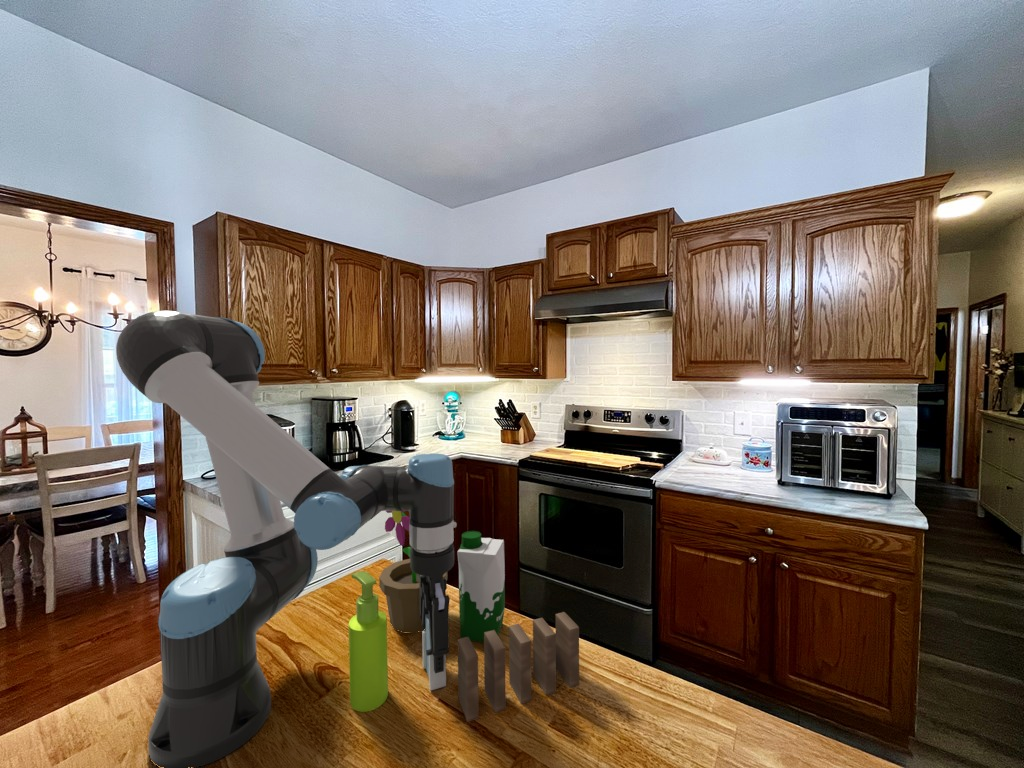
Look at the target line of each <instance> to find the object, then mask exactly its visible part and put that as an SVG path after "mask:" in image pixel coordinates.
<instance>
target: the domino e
mask: <svg viewBox="0 0 1024 768" xmlns="http://www.w3.org/2000/svg"><path fill="white" fill-rule="evenodd" d="M555 633H556V672H558V674H559V675H560V677H561V678H562V679H563V680H564V682H565V683H566V685H567V686H568V687H569V688H573V687H576V686H579V685H580V627H579V625H578V624H577V623H576V622H575V621H574V620H573V619H572V618H571V617H570V616H569V615H568V614H567V612H565V611H561V612H558V613H555Z"/></svg>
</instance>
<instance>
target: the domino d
mask: <svg viewBox="0 0 1024 768" xmlns="http://www.w3.org/2000/svg"><path fill="white" fill-rule="evenodd" d="M556 672H557V670H556V631H554V630H553V629H552V628H551V626H550V625H549V623H547V621H546V620H545V619H544V618H543V617H539V618H536V619H535V618H534V619H532V676H533V677H534V679H535V681H536V682H537V684H538V685H539V687H540V688H541V690H542V692H543V693H544V695H545V696H550V695H553V694H555V693H557V688H556V687H557V679H556V678H557V675H556V674H557V673H556Z"/></svg>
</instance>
